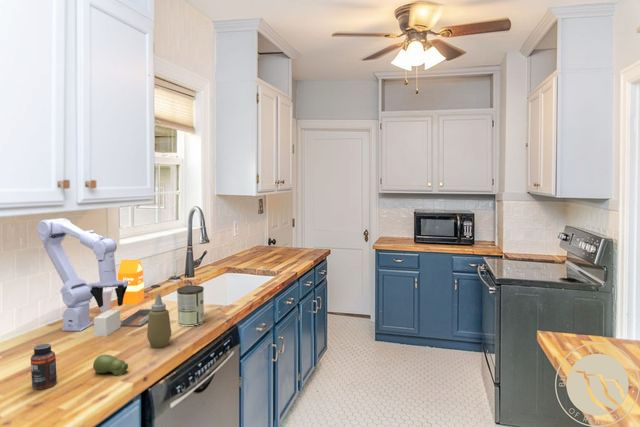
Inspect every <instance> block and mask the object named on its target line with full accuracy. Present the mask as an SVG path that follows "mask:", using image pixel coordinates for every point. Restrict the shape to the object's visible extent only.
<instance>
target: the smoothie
mask: <svg viewBox="0 0 640 427" xmlns="http://www.w3.org/2000/svg"><path fill="white" fill-rule="evenodd" d="M113 291H114V290H113V288H112V287H105V288H103V306H102V307H99V312H100V314H102V313H104V312H105V311H107V310H111V303H112V295H113Z"/></svg>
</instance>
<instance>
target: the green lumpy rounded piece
mask: <svg viewBox="0 0 640 427" xmlns="http://www.w3.org/2000/svg"><path fill="white" fill-rule="evenodd" d="M92 367H93V370H94V372H95V373H98V374H105V373H112V374H113V375H114V376H119V375H120V376H121V374H122V375H123V374H124V372H125V371H126V370H128V369H129V364H128V363H127V362H126V361H125V360H122V359H119V358H117V357H116V356H114V355H109V354H100V355H99V356H97V357H96V358H95V359H94V361H93V364H92ZM126 372H127V371H126ZM126 372H125V373H126Z"/></svg>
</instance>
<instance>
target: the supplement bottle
mask: <svg viewBox="0 0 640 427" xmlns="http://www.w3.org/2000/svg"><path fill="white" fill-rule="evenodd" d="M33 352H34V353H33V354H32V355H31V356H30V372H31V386H32V388H33V389H34V390H45V389H48V388H51V387H53V386H55V385H56V384H57V382H58V379H57V377H58V375H57V360H56V353H55V351H54V350H52V347H51V344H50V343H43V344H42V343H41V344H38V345H35V346H34V347H33Z"/></svg>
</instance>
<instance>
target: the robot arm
mask: <svg viewBox="0 0 640 427" xmlns="http://www.w3.org/2000/svg"><path fill="white" fill-rule="evenodd" d="M36 232H37V234H38V236H39V238H40V240H41V242H42V245H43V244H44V245H43V248H44V249H45V251H46V253H47V255H48V257H49V259H50V261H51V262H52V264H53V266H54V268H55V270H56V272H57V274H58V275H59V278H60V279H61V281H62V284H63V286H62V287H61V288H60V293H61V296H62V301H63V303H64V304H65V306H66V307H67V308H66V309H65V310H64V311H63V313H62V324H63V325H62V328H61V329H60V330H61V332H62V331H63V332H65V331H68V332H70V331H71V332H81V331H83V330H85V329H87V328H88V327H90V326H92V325H94V321H91V320H90V319H91V318H90V303H91V300H92V299H95V301H96V304H97V307H98V308H100V307H102V306H103V289H104V288H105V287H106V288H114V291H115V295H116V299H117V306H118V307H121V306H123V305H124V304H123V298H124V295H125V292H126V289H127V286H129V283H128V281H118V279H117V272H116V263H115V262H116V260H115V252H116V251H117V249H118V245H117V244H118V243H117V242H116V240H115V239H114V238H112V237H108V238H106V237H104V236H103V235H100V234H97V233H95V230H94V229H93V230H92V229H91V230H83V229H81V228H80V227H79V226H77V225H75V224H73V223H72V222H71V220H70V219H67V218H65V217H60V218H51V219H42V220H40V221H39V222H38V224H37V228H36ZM50 235H51V236H50ZM67 235H69V236H71V237H73V238H76V239H78V240H79V242H80V244H81V245H83V246H85V247H87V248H89V249H91V250H92V251H93V254H94V255H95V258H96V260H97V268H98V277H99V281H96V282H90V283H88V282H87V280H85V279H82V278H80V277H79V276H78V274H77V272H76V270H75V268H74V266H73V265H72V262H71V261H70V259H69V257H68V256H67V253H66V252H65V250H64V248H63V246H62V244H61V243H62V241H64V240H65V237H67Z"/></svg>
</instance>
